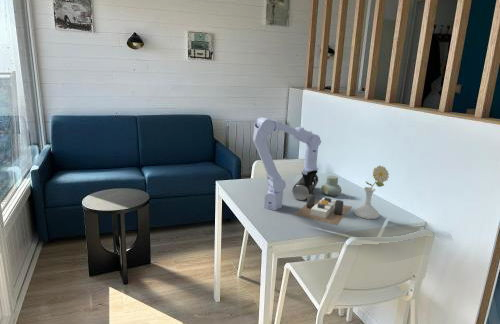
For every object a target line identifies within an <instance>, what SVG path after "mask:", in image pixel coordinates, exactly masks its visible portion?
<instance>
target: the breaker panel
mask: <svg viewBox="0 0 500 324" xmlns="http://www.w3.org/2000/svg"><path fill="white" fill-rule="evenodd" d="M322 200H326V201H328V205H324V204H321V201H322ZM335 201H336V199H332V198H330V197H327V196H326V197H322V198H321V199H317V198H315V203H314V206H313V207H312V208H311V209H309V208H307V203H306V204H305V205H303V206H302V207H301V208H300V209H298V210H297V211H296V212H294V214H293V215H295V216H299V217H301V218H307V219H311V220H315V221H318V222H319V221H320V222H322V223H327V224H330V225H336V226H337V225H338V224H340V222H341V221H342V220H343V218H344V217H345V216H346V215H347V214H348V212H349V211H350V210H351V209H352V206H349V205H345V204H343V211H342V215H336V214H334V210H335Z"/></svg>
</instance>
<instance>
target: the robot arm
mask: <svg viewBox="0 0 500 324" xmlns="http://www.w3.org/2000/svg"><path fill="white" fill-rule="evenodd" d="M278 131H281V132H282V131H283V132H284V133H286V134H289V135H291V136H292V138H293V139H294V140H297V141H298V142H301V143H304V144H305V154H304V166H303V170H302V171H301V175H302V177H303V178H304V183H305V186H307V187H309V186H310V185H312V183H313V180H314V177H315V175H317V174H318V172H319V169H320V168H319V167H318V164H317V163H318V162H317V161H318V152H319V151H318V150H319V147H320V145H321V144H322V140H321V137H320V136H319V135H318V134H316V133H313V132H312V131H311V130H307V129H305V128H304V127H302V126H300V127H299V126H297V127H295V128H294V127H292V126H289V125H288V124H286V123H283V122H281V121H279V120H276V119H273V118H269V117H268V118H267V117H265V116H260V117H258V118H257V119H256V120H255V122H254V124H253V134H252V135H253V136H252V141H253V144H254V146H255V148H256V150H257V153H258V155H259V158H260V160H261V162H262V165H263V168H264V170H265V172H266V174H265V176H266V182H267V185H268V189H267V193H266V195H265V194H264V195H265V196H264V205H263V206H264V207H263V208H264V209H268V210H272V211H277V210H278V209H280V208H282V207H283V200H284V190H285V189H286V185H287V184H286V181H285V180H284V179H283V178H282V176H281V174H280V173H279V171H278V170H277V166H276V165H275V162H274V160H273V157H272V155H271V152H270V149H269V148H268V147H269V146H268V144H267V142H266V140H267V139H268V137H269V136H270V135H271V134H272V133H273V132H278ZM313 184H314V183H313Z"/></svg>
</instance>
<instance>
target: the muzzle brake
mask: <svg viewBox="0 0 500 324" xmlns="http://www.w3.org/2000/svg"><path fill="white" fill-rule="evenodd" d="M318 183H319V176H318V175H317V174H316V175H315V177H314V180H313V183H312V185H310V186H309V187H307V186H305V183H304V178H303V176H301V177H300V178H299V180H298V181H297V182H296V183H295V184H294V185H293V187H292V191H291V192H292V195H293V197H294V198H295V199H296V200H297V201H307V196H308V195H309V194H313V193H312V192H313V191H314V190H315V188H316V187H317V185H318Z"/></svg>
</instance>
